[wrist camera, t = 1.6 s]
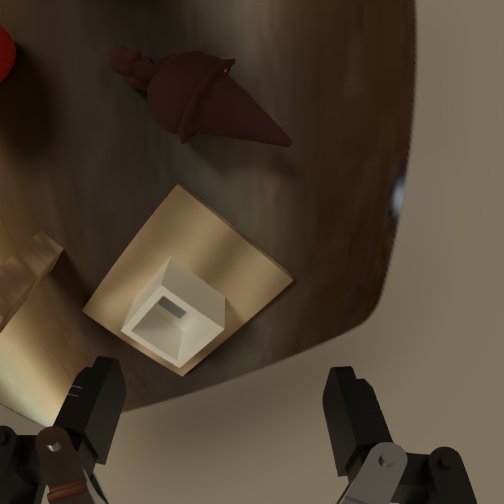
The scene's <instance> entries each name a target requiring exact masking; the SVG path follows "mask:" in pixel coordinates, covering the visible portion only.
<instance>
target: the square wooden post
mask: <svg viewBox="0 0 504 504" xmlns="http://www.w3.org/2000/svg"><path fill="white" fill-rule="evenodd" d="M62 251H63V248H62V247H61V246H60V245H58V244H57V243H56V242H55V241H54V240H53V239H51V238H50V237H49V236H48V235H47V234H46V233H44V232H43V231H42V230H41V231H40V232H39V233H38V234H37V235H35V236H34V237H33V238H32V239H31V240H29V241H28V242H27V243H26V244H25V245H24V246H22V247H21V248H20V249H19V250H18V251H17V252H16V253H15V254H13V255H12V256H11V257H10V258H9V259H8V260H7V261H6V262H5V263H3V264H2V265H1V266H0V333H1V332H2V330H3V329H4V328H5V326H6V325H7V324H8V322H9V321H10V320H11V318H12V317H13V316H14V315H15V313H16V312H17V311H18V309H19V308H20V307H21V306H22V304H23V303H24V302H25V301H26V300H27V298H28V297H29V296H30V295H31V293H32V292H33V291H34V290H35V289H36V288H37V286H38V285H39V284H40V283H41V282H42V280H43V279H44V278H45V277H46V276H47V275H48V274H49V272H50V271H51V270H52V269H53V267H54V265H55V264H56V262H57V260H58V258H59V256H60V254H61V253H62Z"/></svg>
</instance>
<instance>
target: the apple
mask: <svg viewBox="0 0 504 504" xmlns="http://www.w3.org/2000/svg"><path fill="white" fill-rule="evenodd" d="M15 59H16V46H15V44H14V42H13V40H12V38H11V36H10V35H9V33H8V32H7V31H6V30H5V29H4V28H3V27H2V26H1V25H0V83H1V82H2V81H3V80H4V79H5V78H6V77H7V76H8V74H9V72H10V71H11V69H12V67H13V65H14V62H15Z"/></svg>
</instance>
